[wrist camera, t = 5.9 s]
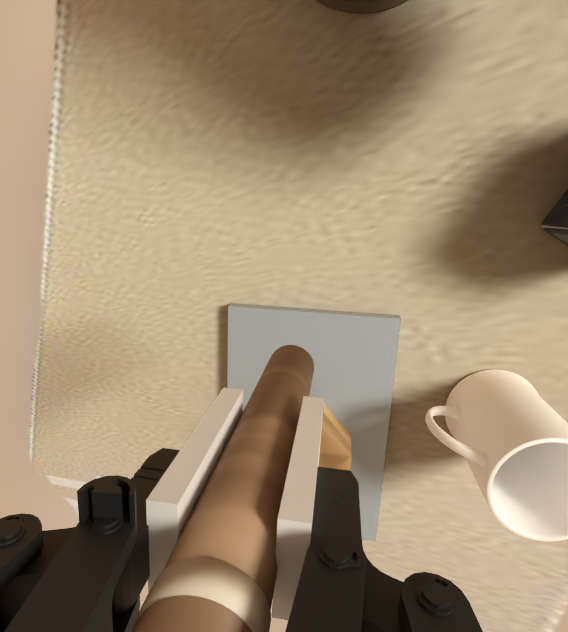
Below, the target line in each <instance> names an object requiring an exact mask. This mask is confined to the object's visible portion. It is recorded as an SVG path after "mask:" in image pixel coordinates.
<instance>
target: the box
mask: <svg viewBox="0 0 568 632" xmlns="http://www.w3.org/2000/svg"><path fill="white" fill-rule="evenodd" d="M541 226H542V228H543V229H544V230H545V231H546V232H548V233H550V234H551V235H553V236H554V237H556V238H557V239H559V240H560V241H562V242H564V243H565V244H567V245H568V190H567V191H566V192H565V194H564V195H563V196H562V198H561V199H560V200H559V201H558V203H557V204H556V206H555V207H554V208H553V209H552V211H551V212H550V213H549V215H548V216H547V217H546V219H545V220H544V221H543V223H542V224H541Z"/></svg>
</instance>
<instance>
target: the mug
mask: <svg viewBox="0 0 568 632" xmlns="http://www.w3.org/2000/svg"><path fill="white" fill-rule="evenodd" d="M438 415H442V416H445V420H446V424H447V426H448V429H449V430H450V432H451V434H452V435H453V436H454V438H455V439H454V438H453V437H451V436H450V435H448V434H447V433H446V432H444V431H443V430H442V429H441V428H440V427H439V426H438V425H437V424H436V423H435V421H434V420H433V416H438ZM425 421H426V424H427V427H428V428H429V430H430V431H431V432H432V434H433V435H434V436H435V437H436V438H437V439H438V440H439V441H441V442H442V443H443V444H444V445H446V446H447V447H448V448H450V449H451V450H453V451H455V452H456V453H458V454H459V455H461V456H463V457H465V458H466V460H467V462H468V464H469V466H470V468H471V470H472V472H473V474H474V476H475V478H476V480H477V482H478V484H479V487H480V489H481V491H482V493H483V495H484V497H485V499H486V501H487V503H488V505H489V507H490V509H491V511H492V513H493V514H494V516H495V517H496V518H497V520H498V521H499V522H500V523H501V524H502V525H503V526H505V527H506V528H507V529H509V530H510V531H512V532H513V533H515V534H517V535H520V536H522V537H525V538H528V539H533V540H538V541H559V540H565V539H568V423H567V422H566V421H565V420H564V419H562V418H561V417H560V416H559V415H558V414H557V413H556V412H555V411H554V410H553V409H552V408H551V407H550V406H549V405H548V404H547V403H546V402H545V401H544V400H543V399H542V398H541V397H540V396H539V395H538V393H537V392H536V390H535V389H534V387H533V386H532V385H531V384H530V383H529V382H528V381H527V380H526V379H524V378H523V377H521V376H519V375H517V374H515V373H513V372H510V371H505V370H498V369H491V370H484V371H479V372H476V373H474V374H471V375H469V376H467V377H466V378H464V379H463V380H461V381H460V382H459V383H458V384H457V385H456V386H455V387H454V388H453V390H452V391H451V393H450V394H449V396H448V399H447V401H446V405H445V406H435V407H432V408H430V409H429V410H428V412H427V414H426V417H425Z"/></svg>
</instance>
